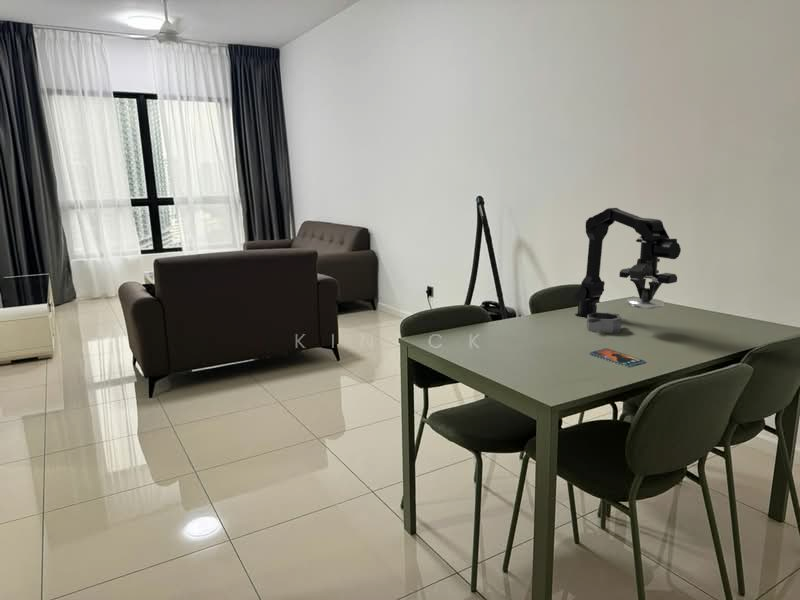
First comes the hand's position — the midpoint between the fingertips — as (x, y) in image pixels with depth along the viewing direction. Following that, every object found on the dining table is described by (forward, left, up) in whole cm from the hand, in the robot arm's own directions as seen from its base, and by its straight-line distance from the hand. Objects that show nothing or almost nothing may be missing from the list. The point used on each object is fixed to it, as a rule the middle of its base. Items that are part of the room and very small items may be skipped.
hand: (645, 299), depth 199 cm
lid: (0, 0, -2) cm, 2 cm away
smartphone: (+12, -34, -12) cm, 38 cm away
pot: (-11, -8, -12) cm, 18 cm away
